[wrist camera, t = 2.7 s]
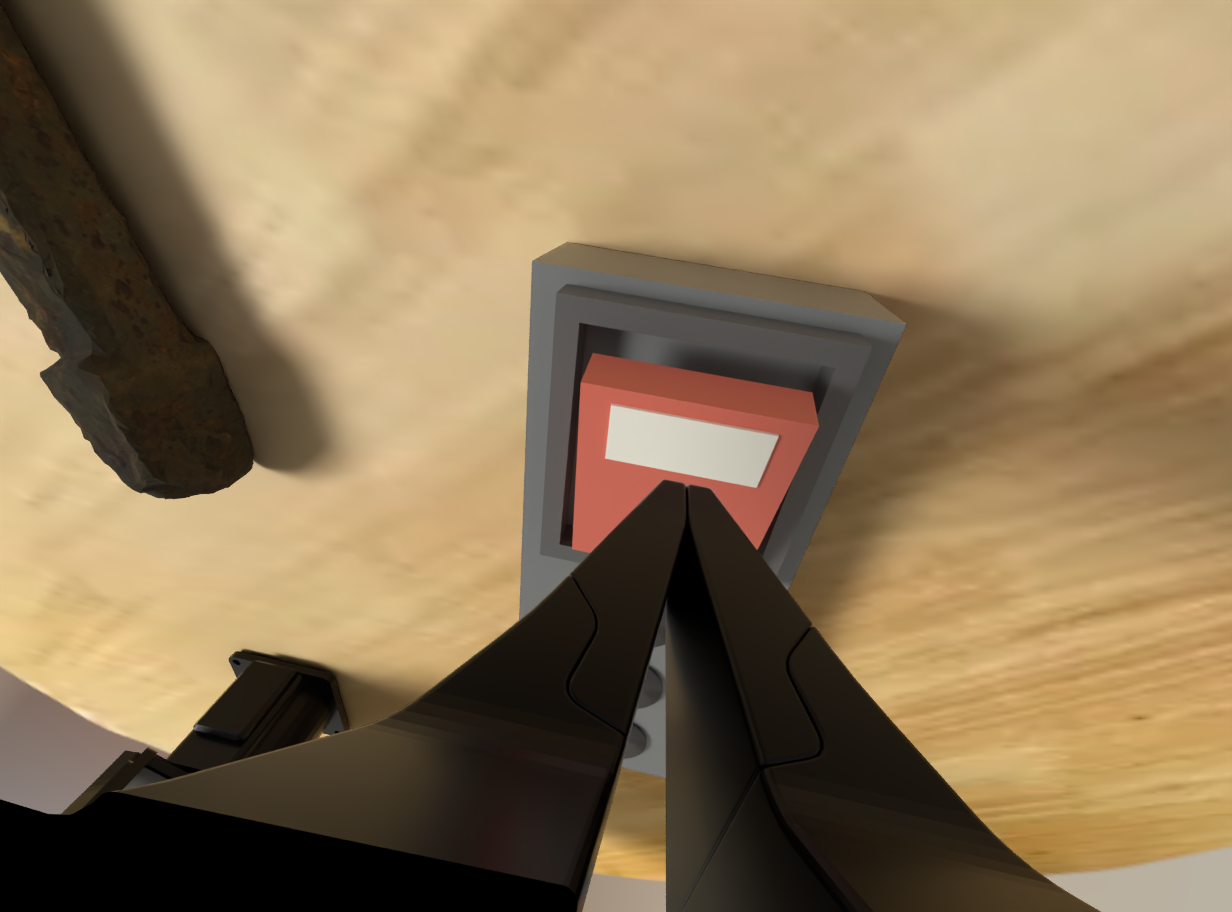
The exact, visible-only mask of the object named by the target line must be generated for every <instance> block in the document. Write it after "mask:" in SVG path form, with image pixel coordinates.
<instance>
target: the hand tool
mask: <svg viewBox="0 0 1232 912" xmlns="http://www.w3.org/2000/svg"><path fill="white" fill-rule="evenodd" d="M0 272H1V274H2V275H3V277H4V278H5V280H6V281H7V283H8V284H9V286H10V287H11V289H12V290H13V291H14V293H15V294H16V296H17V297H18V299H19V301H20V303H21V304H22V305H23V306H24V307H25V308H26V310H27V313H28V316H29V319H31V320H32V321H33V322H34V323H35V324H36V325H37V327H38V328H39V329H40V330H41V331H42V334H43V336H44V339H45V342H46V343H47V345H48V347H49V348H50V350H53V351H55V352H57V353H58V354H59V355H60V357H61V358H60V359H59V360H58V361H57V362H56V363H55V364H53V365H52V366H50V367H49V368H47V369H46V370H44V371H42V372H40V377H41V378H42V379H43V381H44V382H45V383H46V385H47V386H48V388H49V389H50V391H51V393H52V394H53V396H54V397H55V398H56V399H57V401H58V402H59V403H60V404H61V405H62V406H63V407H64V408H65V409H66V410H67V411H68V412H69V413H70V414H71V416H72V418H73V420H74V421H75V423H76V424H77V425H78V426H79V427H80V428H81V431H82V434H83V437H84V439H86V440H88V441H90V443H91V444H92V447H93V449H94V452H95V453H96V454H97V455H98V456H99V457H100V458H101V460H102V461H103V462H104V463H105V464H107V465H109V466H110V467H111V468H112V469H113V470H114V471H115V472H116V473H117V475H118V476H119V477H120V479H121V480H122V481H123V482H124V483H125V484H126V485H127V486H129V487H130V488H131V489H133V490H134V491H137V492H139V493H147V494H149V495H152V496H154V497H157V498H165V499H179V498H186V497H190V496H193V495H199V494H211V493H215V492H216V491H219V490H221V489H224V488H228V487H230V486H231V485H232V484H233V483H235V482H236V481H237V480H239V479H240V478H242V477H243V476H244V475H246V474H247V473H248V472H249V471H250V470H251V469H252V466H253V464H254V463H253V452H252V448H251V444H250V440H249V436H248V433H247V431H246V427H245V423H244V418H243V414H242V413H241V411H240V409H239V408H238V406H237V402H236V399H235V398H234V396H233V394H232V391H231V389H230V387H229V385H228V382H227V379H226V377H225V374H224V371H223V369H222V366H221V363H220V360H219V358H218V355H217V353H216V351H215V350H214V348H213V347H212V345H211V344H210V343H209V342H208V341H206V340H204V339H201V338H199V337H196V336H192V335H191V334H190V333H189V332H188V331H187V329H186V328H185V326H184V325H183V324H182V322H181V321H180V320H179V318H178V317H177V316H176V315H175V313H174V312H173V311H172V309H171V308H170V306H169V304H168V302H167V300H166V298H165V296H164V294H163V293H162V291H161V290H160V288H159V287H158V285H157V284H156V281H155V279H154V277H153V275H152V272H151V270H150V268H149V266H148V264H147V262H146V261H145V259H144V257H143V256H142V254H141V252H140V251H139V249H138V247H137V245H136V244H135V241H134V239H133V237H132V234H131V232H130V229H129V226H128V223H127V221H126V220H125V219H124V218H123V216H122V215H121V214H120V213H119V212H118V211H117V209H116V208H115V207H114V205H113V204H112V202H111V201H110V199H109V198H108V196H107V195H106V193H105V191H104V189H103V187H102V185H101V184H100V182H99V180H98V178H97V176H96V175H95V173H94V171H93V170H92V168H91V166H90V164H89V163H88V161H87V159H86V158H85V156H84V154H83V152H82V150H81V149H80V147H79V145H78V144H77V142H76V140H75V138H74V136H73V134H72V132H71V130H70V128H69V126H68V125H67V123H66V121H65V119H64V117H63V115H62V114H61V112H60V110H59V108H58V107H57V105H56V103H55V101H54V100H53V98H52V96H51V94H50V91H49V90H48V88H47V87H46V85H45V84H44V82H43V80H42V79H41V77H40V76H39V74H38V72H37V70H36V68H35V67H34V65H33V63H32V61H31V59H30V57H29V55H28V54H27V52H26V50H25V48H24V47H23V45H22V43H21V41H20V39H19V37H18V36H17V34H16V32H15V30H14V29H13V27H12V25H11V23H10V21H9V19H8V17H7V15H6V13H5V12H4V10H3V8H2V7H1V5H0Z"/></svg>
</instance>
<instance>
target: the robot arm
mask: <svg viewBox="0 0 1232 912" xmlns="http://www.w3.org/2000/svg"><path fill="white" fill-rule="evenodd" d="M665 605H666V616H665V672H666V912H1100V911H1099V910H1097V909H1095V908H1094V907H1092V906H1090V905H1088V904H1087V903H1085V902H1083V901H1082V900H1080V899H1078V898H1076V897H1075V896H1073V895H1071V894H1070V893H1068V892H1067V891H1065V890H1063V889H1062V888H1060V887H1058V886H1057V885H1056V884H1054V883H1053V882H1051V881H1050V880H1049V879H1047V878H1046V877H1044V876H1043V875H1041V874H1040V873H1039V872H1037V871H1036V870H1034V869H1033V868H1032V867H1031V866H1029V865H1028V864H1027V863H1026V862H1025V861H1023V860H1022V859H1021V858H1020V857H1019V856H1017V855H1016V854H1015V853H1014V852H1013V851H1012V850H1011V849H1009V848H1008V847H1007V846H1006V845H1005V844H1004V843H1003V842H1002V841H1001V840H1000V839H999V838H998V837H997V836H996V835H994V833H993V832H992V831H991V830H990V829H989V828H988V827H987V826H986V825H985V824H984V823H983V822H982V821H981V820H980V819H979V818H978V817H977V816H976V815H975V813H974V812H973V811H972V810H971V809H970V808H969V807H968V806H967V804H966V803H965V802H964V801H963V800H962V799H961V798H960V797H959V796H958V794H957V793H956V792H955V791H954V790H953V789H952V788H951V787H950V785H949V784H948V783H947V782H946V781H945V780H944V779H943V778H942V777H941V775H940V774H939V773H938V772H937V771H936V770H935V769H934V768H933V766H932V765H931V764H930V763H929V762H928V761H927V760H926V759H925V758H924V756H923V755H922V754H921V753H920V752H919V751H918V750H917V749H916V748H915V746H914V745H913V744H912V743H911V742H910V741H909V740H908V739H907V737H906V736H905V735H904V734H903V733H902V732H901V731H900V730H899V729H898V727H897V726H896V725H895V724H894V723H893V722H892V721H891V720H890V718H889V717H888V716H887V715H886V714H885V713H884V712H883V710H882V709H881V708H880V707H879V706H878V705H877V703H876V702H875V701H874V700H873V699H872V698H871V697H870V695H869V694H868V693H867V692H866V691H865V690H864V688H863V687H862V686H861V685H860V684H859V683H858V681H857V680H856V679H855V678H854V677H853V675H852V674H851V673H850V671H849V670H848V669H847V668H846V666H845V665H844V664H843V663H842V661H841V660H840V659H839V658H838V656H837V655H836V654H835V652H834V651H833V650H832V649H831V647H830V646H829V645H828V643H827V642H826V641H825V639H824V638H823V637H822V635H821V634H820V633H819V631H818V630H817V629H816V628H815V627H812V623H811V621H810V620H809V618H808V617H807V616H806V614H805V613H804V612H803V610H802V609H801V608H800V606H799V605H798V604H797V603H796V601H795V600H794V599H793V597H792V596H791V595H790V593H789V592H788V591H787V589H786V588H785V587H784V585H783V584H782V583H781V581H780V580H779V579H778V577H777V576H776V575H775V573H774V572H773V571H772V569H771V568H770V567H769V565H768V564H767V563H766V561H765V560H764V559H763V557H762V556H761V555H760V553H759V552H758V551H757V549H756V548H755V547H754V545H753V544H752V543H751V541H750V540H749V539H748V537H747V536H746V535H745V533H744V532H743V531H742V529H741V528H740V527H739V525H738V524H737V523H736V521H735V520H734V519H733V517H732V516H731V515H730V513H729V512H728V511H727V509H726V508H725V507H724V505H723V504H722V503H721V501H720V500H719V499H718V497H717V496H716V495H715V493H714V492H713V491H712V490H711V489H710V488H708V487H703V486H698V485H693V484H689V485H687V487H686V485H685V484H684V483H682V482H677V481H672V480H667V479H664V480H662V481H661V482H660V483H659V484H658V485H657V486H656V487H655V488H654V489H653V490H652V491H651V492H650V493H649V494H648V495H647V496H646V497H645V498H644V499H643V500H642V501H641V502H640V503H639V504H638V505H637V506H636V507H635V508H634V509H633V510H632V511H631V512H630V513H629V514H628V515H627V516H626V517H625V518H624V519H623V520H622V521H621V522H620V523H619V524H618V525H617V526H616V527H615V528H614V529H613V530H612V531H611V532H610V533H609V534H608V535H607V536H606V537H605V538H604V539H603V540H602V541H601V542H600V543H599V544H598V545H597V546H596V547H595V548H594V549H593V551H592V552H591V553H590V554H589V555H588V556H587V557H586V558H585V559H584V560H583V561H582V562H581V563H580V564H579V565H578V566H577V567H576V568H575V569H574V570H573V571H572V572H571V573H570V575H569V576H567V577H565V579H564V580H563V581H562V582H561V583H560V584H559V585H558V586H557V587H556V588H555V589H554V590H553V591H552V592H551V593H549V594H548V595H547V596H546V597H545V598H544V599H543V600H542V601H541V602H540V603H539V604H538V605H537V606H536V607H534V608H533V609H532V610H531V611H530V612H529V613H528V614H526V615H525V616H524V617H523V618H521V619H520V620H519V621H518V622H517V623H515V624H514V625H513V626H512V627H510V628H509V629H508V630H507V631H505V632H504V633H503V634H502V635H500V636H499V637H498V638H496V639H495V640H494V641H492V642H491V643H490V644H489V645H487V646H486V647H485V648H483V649H482V650H481V651H479V652H478V653H477V654H475V655H474V656H473V657H472V658H470V659H469V660H468V661H466V662H465V663H464V664H462V665H461V666H460V667H459V668H457V669H456V670H455V671H453V672H452V673H451V674H449V675H448V676H447V677H445V678H444V679H443V680H442V681H440V682H439V683H438V684H436V685H435V686H434V687H432V688H431V689H430V690H428V691H427V692H426V693H424V694H423V695H422V696H420V697H419V698H418V699H416V700H415V701H413V702H411V703H410V704H408V705H407V706H405V707H403V708H402V709H400V710H398V711H396V712H394V713H393V714H391V715H389V716H387V717H385V718H383V719H380V720H378V721H376V722H373V723H371V724H368V725H365V726H362V727H358V728H355V729H351V730H349V726H348V723H347V719H346V716H345V712H344V709H343V705H342V702H341V698H340V695H339V691H338V688H337V684H336V681H335V678H334V676H333V675H332V674H330V673H328V672H325V671H321V670H317V669H312V668H308V667H304V666H299V665H295V664H291V663H287V662H282V661H278V660H274V659H269V658H265V657H261V656H257V655H252V654H248V653H244V652H239V651H236V652H234V653H233V654H232V655H231V657H230V658H229V662H230V664H231V666H232V668H233V670H234V673H235V675H236V677H237V679H236V680H235V681H234V682H233V683H232V684H231V685H230V686H229V687H228V688H227V690H226V691H225V692H224V693H223V694H222V695H221V696H220V697H219V698H218V699H217V700H216V702H215V703H214V704H213V705H212V706H211V707H210V708H209V709H208V710H207V711H206V712H205V714H204V715H203V716H202V717H201V718H200V719H199V720H198V721H197V722H196V723H195V725H194V729H193V730H192V731H191V732H190V733H189V734H188V736H187V737H186V738H185V739H184V740H183V741H182V742H181V743H180V744H179V745H178V747H177V748H176V749H175V750H174V751H173V752H172V753H171V754H170V755H169V756H168V758H167V759H164V758H162V757H160V756H159V755H157V754H156V753H157V752H156V751H154V750H152V749H150V748H147V749H146V750H145V751H144V752H143V753H142V754H141V753H139V752H138V753H137V752H131V751H124V752H123V753H122V755H120V757H119V758H118V759H117V760H116V761H115V762H114V763H113V764H112V765H111V766H110V767H109V768H108V769H107V770H106V771H105V772H104V773H103V774H102V775H101V776H100V777H99V778H98V779H97V780H96V781H95V782H94V783H93V784H92V785H91V786H90V787H89V788H87V790H86V791H84V793H82V794H81V796H79V797H78V798H77V799H76V800H75V801H74V802H73V803H72V804H71V805H70V806H69V807H68V808H67V809H66V810H65V811H64V812H63V813H62V814H60V815H59V814H46V813H43V812H40V811H37V810H33V809H30V808H27V807H23V806H20V805H17V804H14V803H10V802H7V801H4V800H0V912H582V910H583V906H584V903H585V899H586V895H587V892H588V888H589V884H590V881H591V877H592V873H593V870H594V866H595V862H596V859H597V855H598V851H599V848H600V844H601V840H602V837H603V833H604V829H605V826H606V822H607V818H608V815H609V811H610V807H611V804H612V800H613V796H614V793H615V789H616V785H617V782H618V778H619V774H620V770H621V767H622V763H623V759H624V756H625V752H626V748H627V745H628V741H629V737H630V734H631V730H632V726H633V723H634V719H635V715H636V712H637V708H638V704H639V701H640V697H641V693H642V690H643V686H644V682H645V679H646V675H647V671H648V668H649V664H650V660H651V657H652V653H653V649H654V645H655V642H656V638H657V634H658V631H659V627H660V623H661V620H662V616H663V612H664V608H665ZM322 733H324V734H328V735H329V736H325V737H322V738H319V737H320V736H321V734H322ZM123 789H124V790H123Z"/></svg>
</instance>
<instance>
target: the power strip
mask: <svg viewBox="0 0 1232 912" xmlns="http://www.w3.org/2000/svg"><path fill="white" fill-rule="evenodd" d="M906 325H907V324H906V323H905V322H904V321H902V320H901V319H900V318H898V317H897V316H896V315H895V314H893V313H892V312H891V311H889V310H888V309H887V308H885V307H884V306H883V305H882V304H880V303H879V302H878V301H876V300H875V299H874V298H873V297H871V296H870V295H869V294H867V293H866V292H865V291H859V290H853V289H847V288H841V287H835V286H829V285H823V284H817V283H811V282H804V281H798V280H792V279H786V278H780V277H774V276H768V275H762V274H756V273H750V272H744V271H738V270H732V269H726V268H720V267H714V266H707V265H701V264H695V263H689V262H683V261H677V260H671V259H665V258H659V257H653V256H647V255H641V254H635V253H629V252H623V251H617V250H611V249H604V248H598V247H592V246H586V245H580V244H574V243H568V242H566V243H564V244H563V245H561V246H559V247H557V248H555V249H553V250H551V251H550V252H548V253H546V254H544V255H542V256H540V257H538V258H537V259H535V260H533V261H532V280H531V308H530V336H529V364H528V391H527V419H526V447H525V475H524V502H523V530H522V558H521V586H520V613H519V620H520V619H521V618H523V617H524V616H525V615H526V614H528V613H529V612H530V611H531V610H532V609H533V608H534V607H536V606H537V605H538V604H539V603H540V602H541V601H542V600H543V599H544V598H545V597H546V596H547V595H548V594H549V593H551V592H552V591H553V590H554V589H555V588H556V587H557V586H558V585H559V584H560V583H561V582H562V581H563V580H564V579H565V577H567V576H569V575H570V573H571V572H572V571H573V570H574V569H575V568H576V567H577V566H578V565H579V564H580V563H581V562H582V561H583V560H584V559H585V558H586V557H587V556H588V555H589V554H590V553H588V552H583V551H578V550H573V549H572V540H573V521H574V502H575V482H576V463H577V444H578V425H579V406H580V386H581V380H582V378H583V375H584V373H585V371H586V368H587V366H588V363H589V361H590V359H591V356H592V354H593V353H596V354H601V355H607V356H613V357H618V358H624V359H629V360H635V361H640V362H646V363H651V364H657V365H663V366H668V367H674V368H679V369H685V370H690V371H696V372H701V373H707V374H713V375H718V376H724V377H729V378H735V379H740V380H746V381H751V382H757V383H763V384H768V385H774V386H779V387H785V388H790V389H796V390H802V391H807V392H812V393H813V398H814V403H815V408H816V413H817V418H818V423H819V427H818V429H817V431H816V433H815V435H814V437H813V439H812V441H811V443H810V445H809V447H808V449H807V451H806V453H805V455H804V457H803V459H802V461H801V463H800V466H799V468H798V470H797V472H796V474H795V476H794V478H793V480H792V482H791V484H790V486H789V488H788V490H787V492H786V494H785V496H784V498H783V500H782V502H781V504H780V506H779V508H778V510H777V512H776V514H775V516H774V518H773V520H772V522H771V524H770V526H769V528H768V530H767V532H766V534H765V536H764V538H763V540H762V542H761V544H760V546H759V548H758V550H757V551H758V552H759V553H760V555H761V556H762V557H763V559H764V560H765V561H766V563H767V564H768V565H769V567H770V568H771V569H772V571H773V572H774V573H775V575H776V576H777V577H778V579H779V580H780V581H781V583H782V584H783V585H784V587H785V588H786V589H787V591H788V589H789V587H790V584H791V582H792V580H793V578H794V575H795V573H796V571H797V569H798V566H799V564H800V562H801V560H802V557H803V555H804V553H805V551H806V549H807V546H808V544H809V542H810V540H811V537H812V535H813V533H814V531H815V528H816V526H817V524H818V522H819V519H820V517H821V515H822V513H823V510H824V508H825V506H826V504H827V502H828V499H829V497H830V495H831V493H832V490H833V488H834V486H835V484H836V481H837V479H838V477H839V475H840V472H841V470H842V468H843V466H844V463H845V461H846V459H847V457H848V454H849V452H850V450H851V448H852V446H853V443H854V441H855V439H856V437H857V434H858V432H859V430H860V428H861V425H862V423H863V421H864V419H865V416H866V414H867V412H868V410H869V407H870V405H871V403H872V401H873V398H874V396H875V394H876V392H877V390H878V387H879V385H880V383H881V381H882V378H883V376H884V374H885V372H886V369H887V367H888V365H889V363H890V360H891V358H892V356H893V354H894V351H895V349H896V347H897V345H898V342H899V340H900V338H901V336H902V334H903V331H904V329H905V327H906ZM665 616H666V605H665V608H664V612H663V616H662V620H661V623H660V627H659V631H658V634H657V638H656V642H655V645H654V649H653V653H652V657H651V660H650V664H649V668H648V671H647V675H646V679H645V682H644V686H643V690H642V693H641V697H640V701H639V704H638V708H637V712H636V715H635V719H634V723H633V726H632V730H631V734H630V737H629V741H628V745H627V748H626V752H625V756H624V759H623V763H622V767H621V768H625V769H630V770H634V771H638V772H642V773H646V774H651V775H655V776H659V777H663V778H666V672H665Z"/></svg>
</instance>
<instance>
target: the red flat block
mask: <svg viewBox="0 0 1232 912" xmlns="http://www.w3.org/2000/svg"><path fill="white" fill-rule="evenodd" d="M818 427H819V423H818V418H817V413H816V408H815V403H814V398H813V393H812V392H807V391H802V390H796V389H790V388H785V387H779V386H774V385H768V384H763V383H757V382H751V381H746V380H740V379H735V378H729V377H724V376H718V375H713V374H707V373H701V372H696V371H690V370H685V369H679V368H674V367H668V366H663V365H657V364H651V363H646V362H640V361H635V360H629V359H624V358H618V357H613V356H607V355H601V354H596V353H593V354H592V356H591V359H590V361H589V363H588V366H587V368H586V371H585V373H584V375H583V378H582V380H581V386H580V406H579V425H578V444H577V463H576V482H575V502H574V521H573V540H572V549H573V550H578V551H583V552H588V553H591V552H592V551H593V549H594V548H595V547H596V546H597V545H598V544H599V543H600V542H601V541H602V540H603V539H604V538H605V537H606V536H607V535H608V534H609V533H610V532H611V531H612V530H613V529H614V528H615V527H616V526H617V525H618V524H619V523H620V522H621V521H622V520H623V519H624V518H625V517H626V516H627V515H628V514H629V513H630V512H631V511H632V510H633V509H634V508H635V507H636V506H637V505H638V504H639V503H640V502H641V501H642V500H643V499H644V498H645V497H646V496H647V495H648V494H649V493H650V492H651V491H652V490H653V489H654V488H655V487H656V486H657V485H658V484H659V483H660V482H661V481H662V480H664V479H667V480H672V481H677V482H682V483H684V484H685V485H686V487H687V485H689V484H693V485H698V486H703V487H708V488H710V489H711V490H712V491H713V492H714V493H715V495H716V496H717V497H718V499H719V500H720V501H721V503H722V504H723V505H724V507H725V508H726V509H727V511H728V512H729V513H730V515H731V516H732V517H733V519H734V520H735V521H736V523H737V524H738V525H739V527H740V528H741V529H742V531H743V532H744V533H745V535H746V536H747V537H748V539H749V540H750V541H751V543H752V544H753V545H754V547H755V548H756V549H757V550H758V548H759V546H760V544H761V542H762V540H763V538H764V536H765V534H766V532H767V530H768V528H769V526H770V524H771V522H772V520H773V518H774V516H775V514H776V512H777V510H778V508H779V506H780V504H781V502H782V500H783V498H784V496H785V494H786V492H787V490H788V488H789V486H790V484H791V482H792V480H793V478H794V476H795V474H796V472H797V470H798V468H799V466H800V463H801V461H802V459H803V457H804V455H805V453H806V451H807V449H808V447H809V445H810V443H811V441H812V439H813V437H814V435H815V433H816V431H817V429H818Z"/></svg>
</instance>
